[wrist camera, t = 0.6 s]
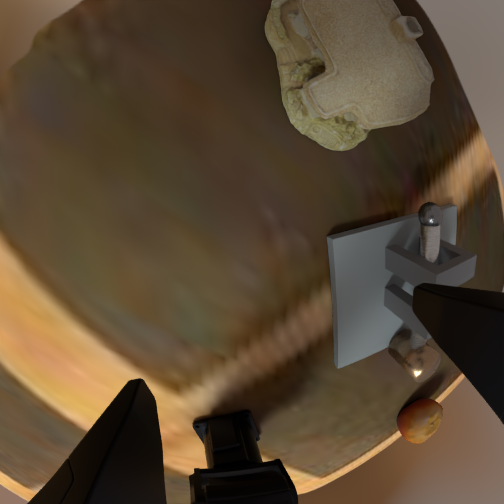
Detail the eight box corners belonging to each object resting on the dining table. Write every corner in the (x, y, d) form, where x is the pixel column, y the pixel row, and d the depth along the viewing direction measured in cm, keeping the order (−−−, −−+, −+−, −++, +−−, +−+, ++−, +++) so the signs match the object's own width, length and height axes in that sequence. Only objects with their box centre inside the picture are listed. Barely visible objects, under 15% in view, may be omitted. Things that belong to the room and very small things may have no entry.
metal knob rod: (410, 348, 28) (436, 372, 23) (386, 360, 27) (412, 388, 22) (422, 194, 21) (465, 205, 17) (394, 200, 21) (438, 212, 16)
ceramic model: (407, 122, 21) (496, 121, 11) (309, 167, 20) (397, 179, 11) (340, -9, 15) (405, -58, 6) (226, 12, 15) (257, -70, 6)
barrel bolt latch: (440, 312, 29) (479, 341, 22) (334, 363, 27) (368, 411, 20) (450, 203, 24) (504, 220, 17) (326, 236, 22) (382, 270, 15)
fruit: (386, 441, 36) (413, 456, 28) (385, 404, 37) (415, 415, 30) (420, 423, 37) (448, 433, 30) (420, 387, 39) (450, 394, 31)
